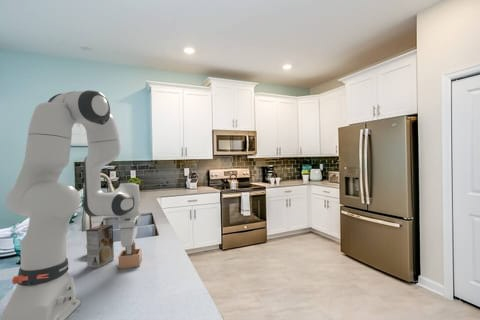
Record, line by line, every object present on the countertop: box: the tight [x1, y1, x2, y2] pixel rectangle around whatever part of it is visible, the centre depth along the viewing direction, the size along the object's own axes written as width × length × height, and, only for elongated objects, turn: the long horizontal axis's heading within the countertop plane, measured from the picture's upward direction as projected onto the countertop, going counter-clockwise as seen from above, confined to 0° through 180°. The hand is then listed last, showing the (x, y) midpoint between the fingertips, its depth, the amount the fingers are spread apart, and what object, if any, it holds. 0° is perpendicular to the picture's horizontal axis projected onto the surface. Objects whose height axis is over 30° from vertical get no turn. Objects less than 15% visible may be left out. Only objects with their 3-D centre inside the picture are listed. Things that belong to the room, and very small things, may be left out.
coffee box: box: [85, 224, 115, 268], centre depth 114 cm, size 9×6×16 cm
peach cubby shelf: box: [118, 248, 143, 269], centre depth 113 cm, size 8×8×5 cm
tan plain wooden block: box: [124, 242, 136, 256], centre depth 113 cm, size 4×4×8 cm
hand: (130, 250), depth 113 cm, fingers open, 5 cm apart
